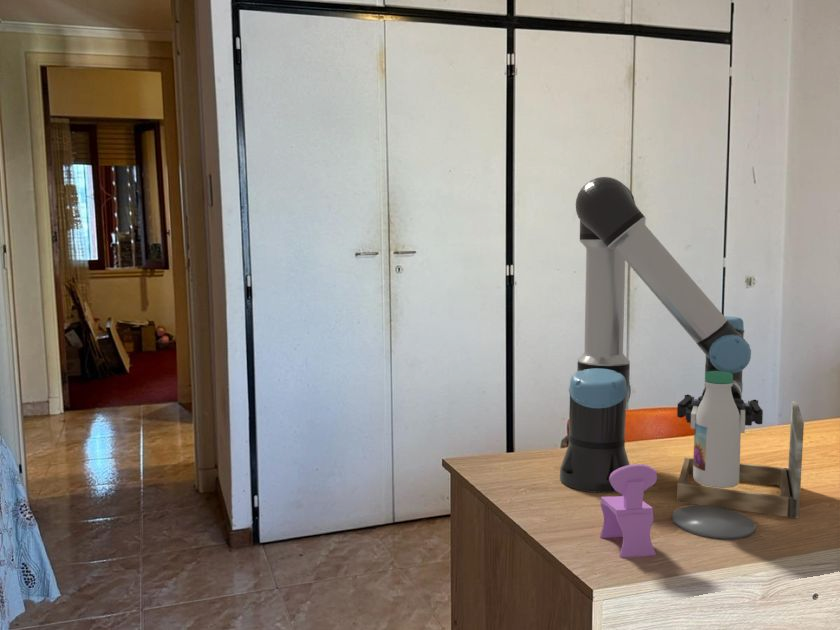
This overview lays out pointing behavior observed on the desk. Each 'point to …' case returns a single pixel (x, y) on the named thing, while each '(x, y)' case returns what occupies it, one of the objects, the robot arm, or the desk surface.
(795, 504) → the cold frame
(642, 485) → the toy chair
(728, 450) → the milk bottle
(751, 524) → the pad
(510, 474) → the desk surface
